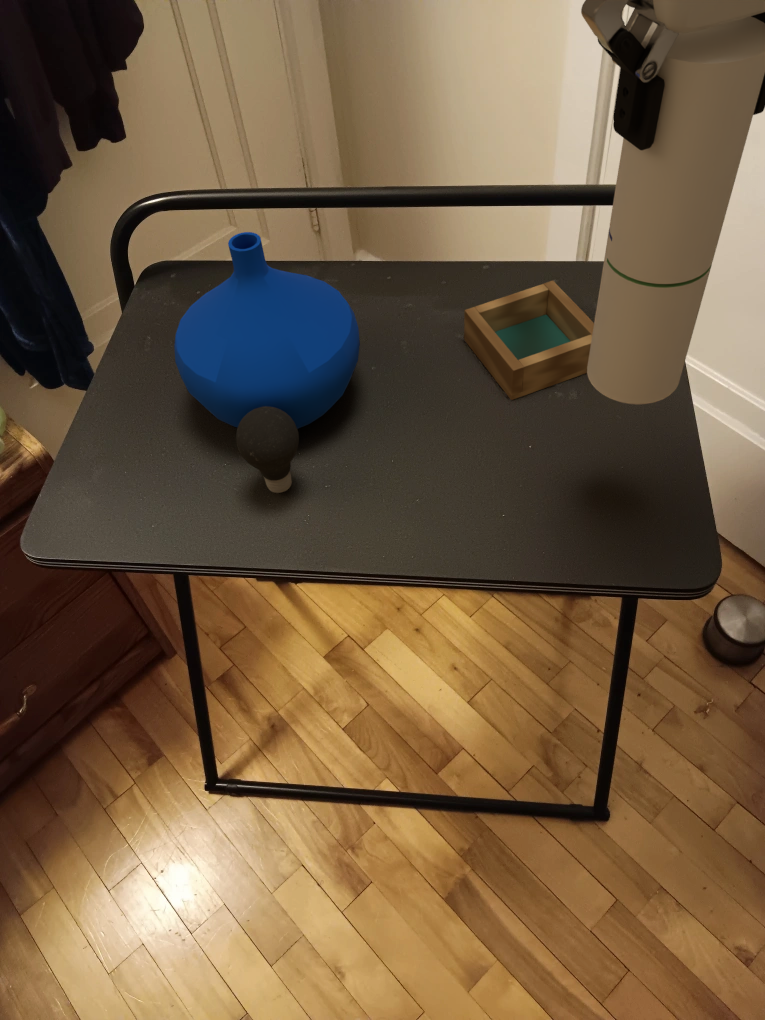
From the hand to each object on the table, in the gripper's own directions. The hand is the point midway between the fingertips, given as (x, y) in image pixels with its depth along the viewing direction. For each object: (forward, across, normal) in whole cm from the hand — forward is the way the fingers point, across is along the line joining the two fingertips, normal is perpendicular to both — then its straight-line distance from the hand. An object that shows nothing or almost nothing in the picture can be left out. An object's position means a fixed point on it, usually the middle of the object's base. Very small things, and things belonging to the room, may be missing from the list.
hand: (687, 120), depth 50 cm
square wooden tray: (+35, +4, +20) cm, 41 cm away
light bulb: (+35, -27, +15) cm, 47 cm away
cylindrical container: (+20, 0, 0) cm, 20 cm away
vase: (+35, -23, +27) cm, 50 cm away
